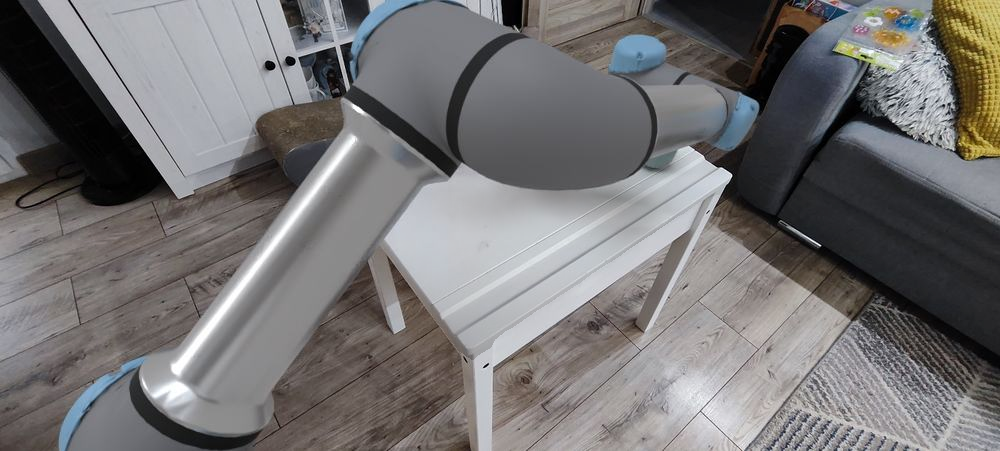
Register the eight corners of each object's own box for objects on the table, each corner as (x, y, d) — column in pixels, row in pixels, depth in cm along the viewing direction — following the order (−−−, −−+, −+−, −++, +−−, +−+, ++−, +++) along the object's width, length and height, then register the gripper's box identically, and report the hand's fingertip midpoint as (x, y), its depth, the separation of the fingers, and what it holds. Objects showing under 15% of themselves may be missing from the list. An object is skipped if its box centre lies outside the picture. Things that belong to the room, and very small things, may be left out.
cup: (675, 174, 94) (691, 134, 87) (638, 173, 94) (651, 133, 87) (666, 150, 99) (681, 111, 92) (631, 149, 99) (643, 110, 92)
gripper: (548, 186, 73) (422, 165, 76) (567, 103, 90) (463, 88, 92) (553, 149, 68) (417, 128, 70) (572, 67, 84) (461, 52, 87)
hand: (443, 105), depth 81 cm, fingers open, 13 cm apart
